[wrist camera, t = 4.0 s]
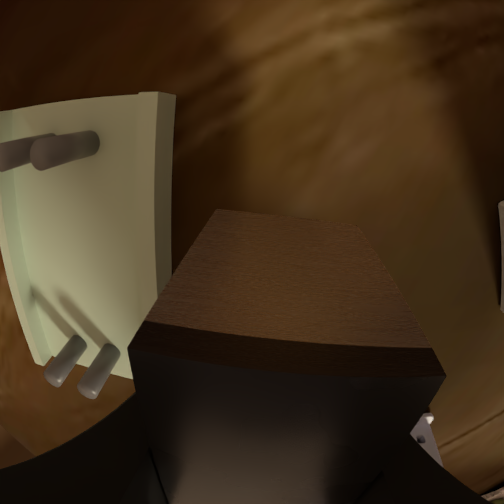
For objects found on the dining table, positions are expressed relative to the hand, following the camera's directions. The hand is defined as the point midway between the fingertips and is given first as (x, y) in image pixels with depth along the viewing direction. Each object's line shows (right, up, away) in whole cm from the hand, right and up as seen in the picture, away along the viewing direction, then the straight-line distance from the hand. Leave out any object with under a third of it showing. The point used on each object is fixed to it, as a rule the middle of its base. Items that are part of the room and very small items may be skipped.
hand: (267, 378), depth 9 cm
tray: (-9, +4, +7) cm, 12 cm away
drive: (0, +1, +1) cm, 2 cm away
